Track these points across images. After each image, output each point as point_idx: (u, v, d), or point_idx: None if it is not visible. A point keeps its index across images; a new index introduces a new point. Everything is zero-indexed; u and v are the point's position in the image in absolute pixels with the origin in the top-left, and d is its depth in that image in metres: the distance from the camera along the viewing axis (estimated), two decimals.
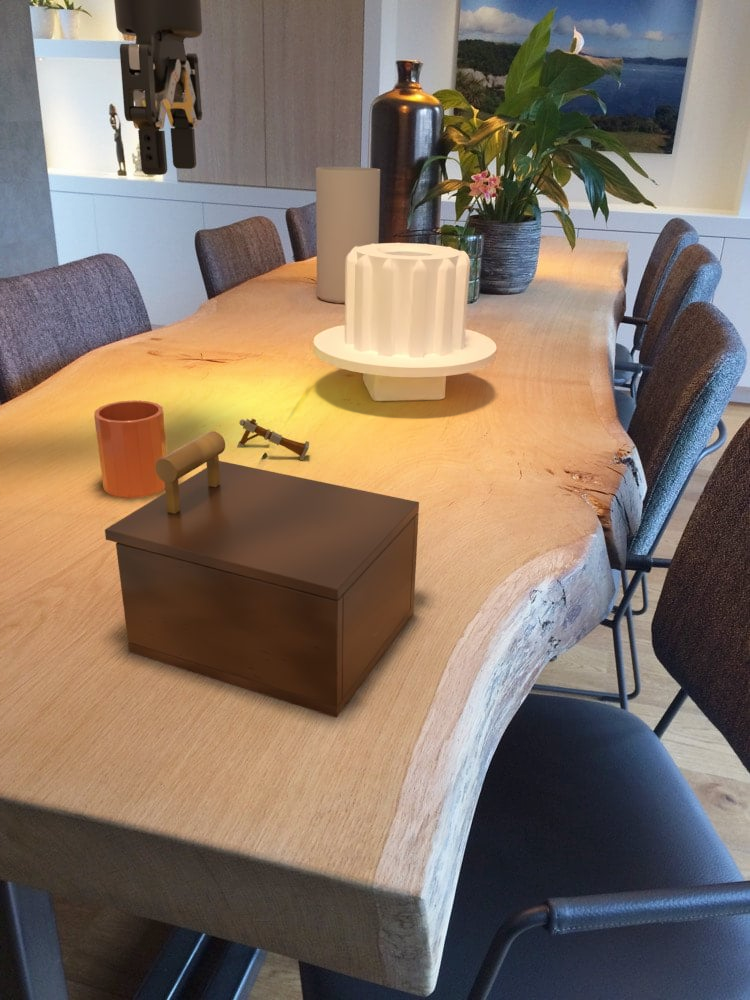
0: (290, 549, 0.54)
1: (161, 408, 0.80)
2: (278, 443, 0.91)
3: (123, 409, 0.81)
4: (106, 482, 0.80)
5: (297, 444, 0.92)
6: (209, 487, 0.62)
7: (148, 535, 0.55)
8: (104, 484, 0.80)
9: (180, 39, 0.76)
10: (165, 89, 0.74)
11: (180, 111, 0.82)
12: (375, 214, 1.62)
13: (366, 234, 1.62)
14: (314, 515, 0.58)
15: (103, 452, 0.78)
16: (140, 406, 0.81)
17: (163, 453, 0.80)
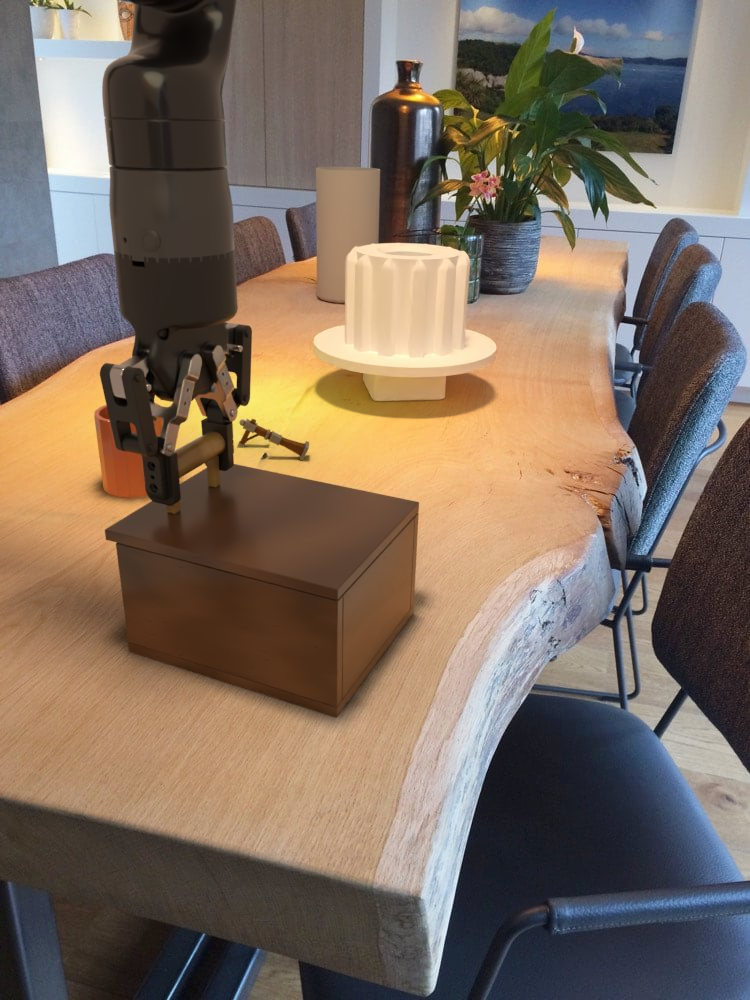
0: (290, 549, 0.54)
1: None
2: (278, 443, 0.91)
3: None
4: (106, 482, 0.80)
5: (297, 444, 0.92)
6: (209, 487, 0.62)
7: (148, 535, 0.55)
8: (104, 484, 0.80)
9: None
10: (174, 403, 0.54)
11: None
12: (375, 214, 1.62)
13: (366, 234, 1.62)
14: (314, 515, 0.58)
15: (103, 452, 0.78)
16: None
17: None
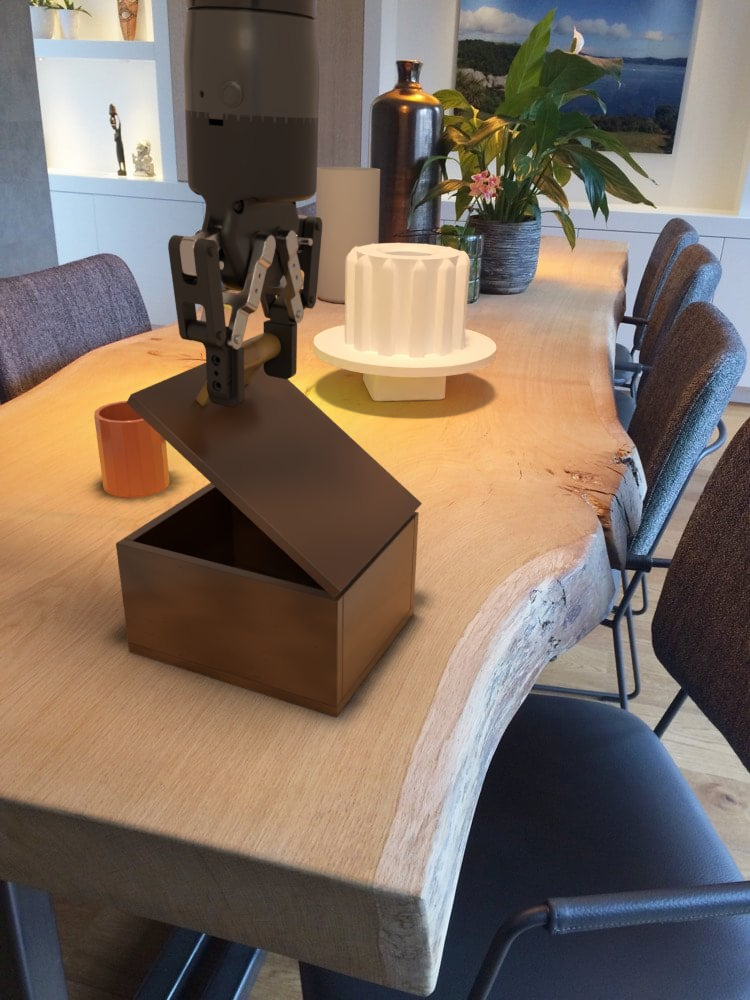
0: (305, 514, 0.52)
1: None
2: None
3: (123, 409, 0.81)
4: (106, 482, 0.80)
5: None
6: None
7: (174, 426, 0.50)
8: (104, 484, 0.80)
9: None
10: (245, 289, 0.48)
11: (282, 297, 0.56)
12: (375, 214, 1.62)
13: (366, 234, 1.62)
14: (331, 475, 0.56)
15: (103, 452, 0.78)
16: None
17: (163, 453, 0.80)
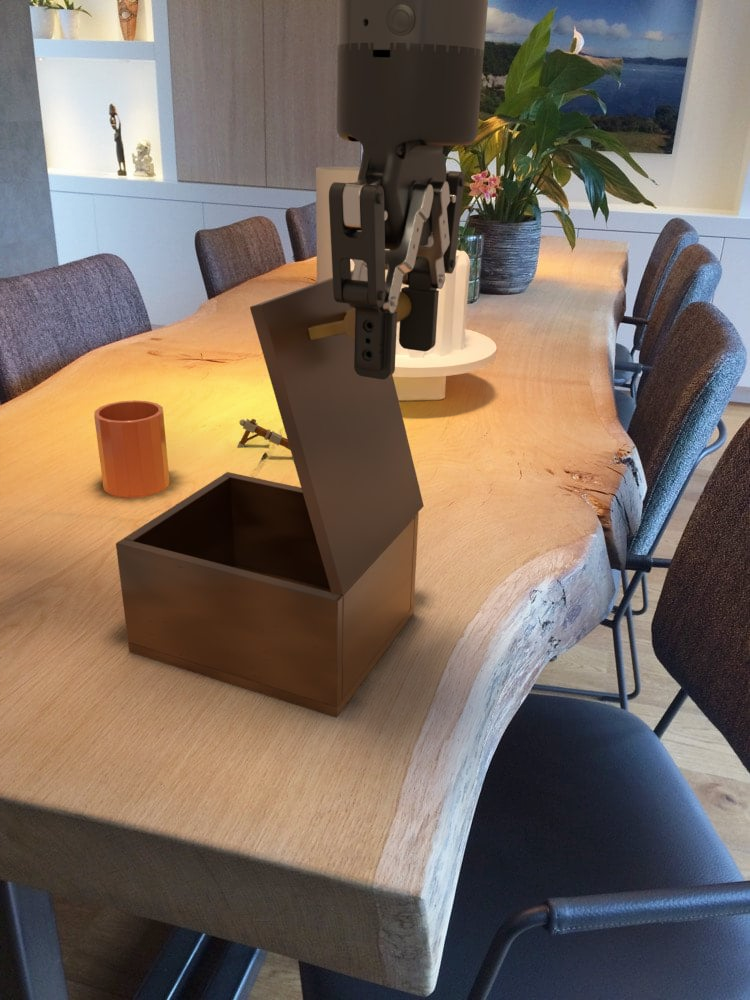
0: (345, 499, 0.50)
1: (161, 408, 0.80)
2: (278, 443, 0.91)
3: (123, 409, 0.81)
4: (106, 482, 0.80)
5: None
6: (344, 316, 0.52)
7: (283, 359, 0.45)
8: (104, 484, 0.80)
9: (439, 146, 0.45)
10: (403, 245, 0.43)
11: (421, 261, 0.51)
12: None
13: None
14: (375, 457, 0.54)
15: (103, 452, 0.78)
16: (140, 406, 0.81)
17: (163, 453, 0.80)
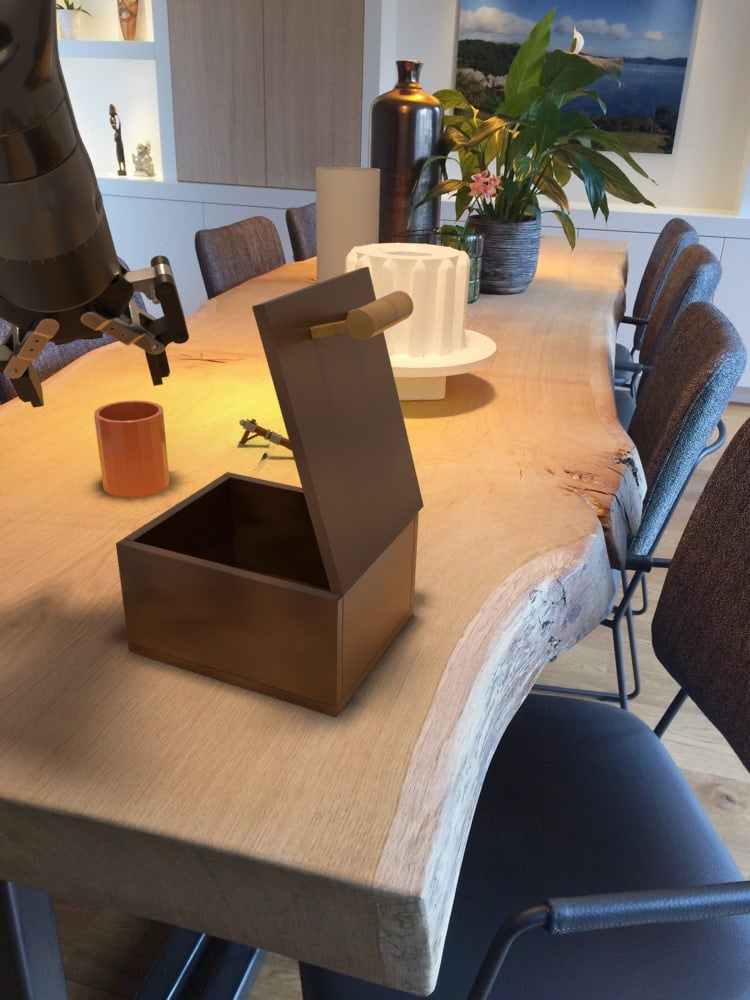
0: (346, 499, 0.50)
1: (161, 408, 0.80)
2: (278, 443, 0.91)
3: (123, 409, 0.81)
4: (106, 482, 0.80)
5: None
6: (346, 316, 0.52)
7: (285, 359, 0.45)
8: (104, 484, 0.80)
9: None
10: (20, 345, 0.54)
11: (157, 322, 0.58)
12: (375, 214, 1.62)
13: (366, 234, 1.62)
14: (376, 456, 0.54)
15: (103, 452, 0.78)
16: (140, 406, 0.81)
17: (163, 453, 0.80)
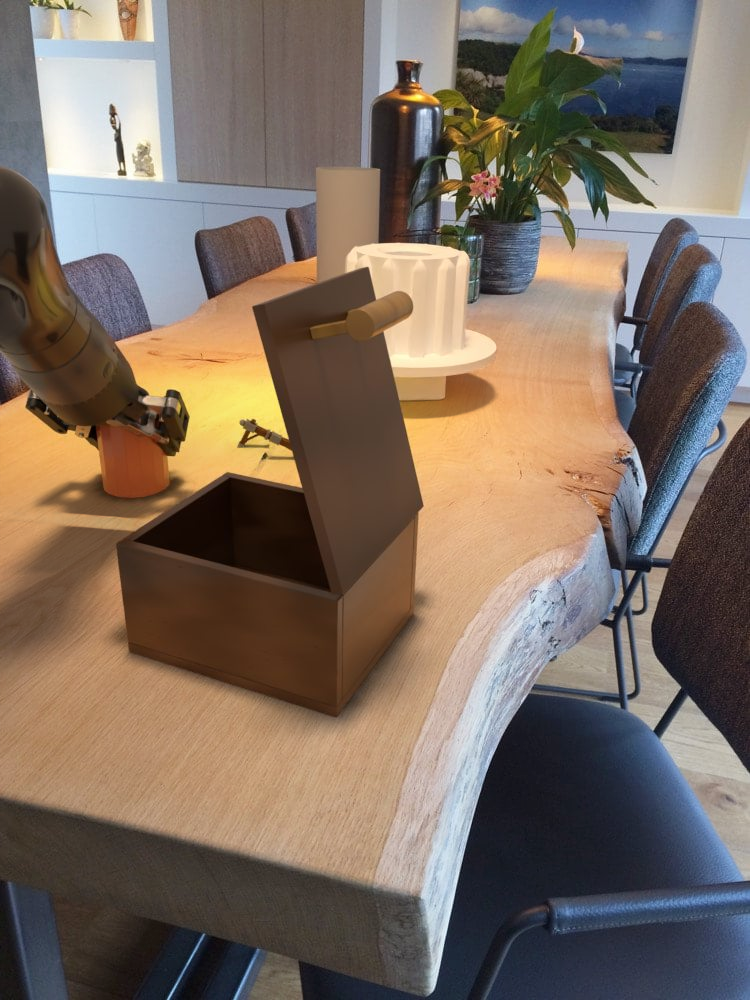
0: (346, 499, 0.50)
1: None
2: (278, 443, 0.91)
3: None
4: (106, 482, 0.80)
5: None
6: (346, 316, 0.52)
7: (285, 359, 0.45)
8: (104, 484, 0.80)
9: None
10: None
11: None
12: (375, 214, 1.62)
13: (366, 234, 1.62)
14: (376, 456, 0.54)
15: (103, 452, 0.78)
16: None
17: (163, 453, 0.80)
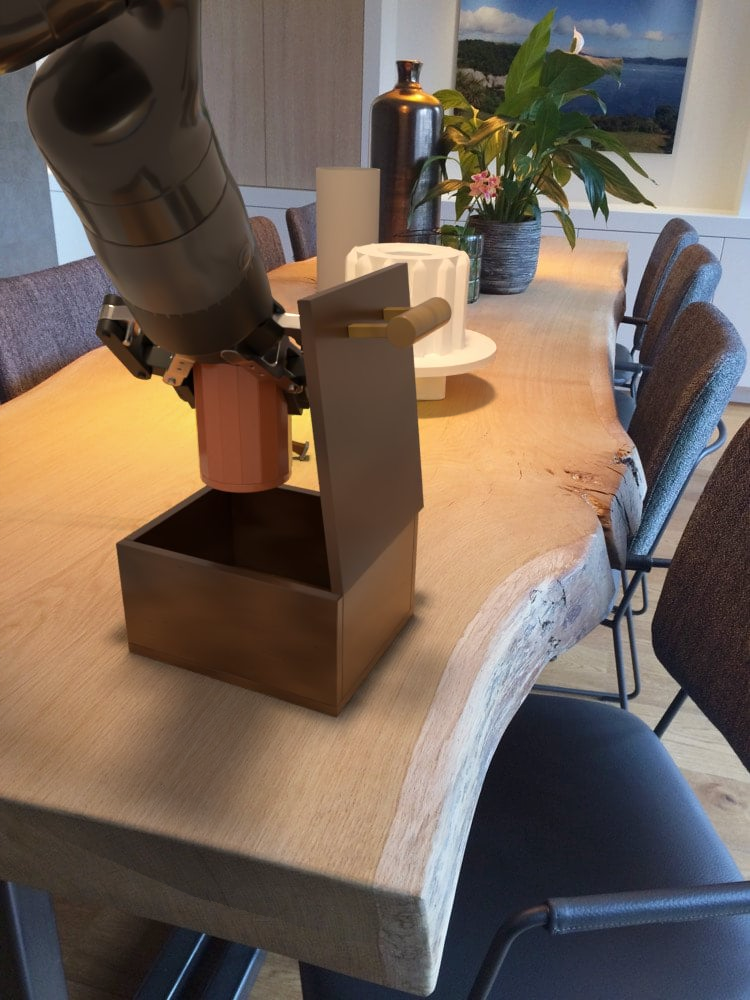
0: (357, 500, 0.50)
1: None
2: None
3: None
4: (205, 451, 0.54)
5: (298, 444, 0.92)
6: (381, 314, 0.51)
7: (322, 357, 0.44)
8: (202, 455, 0.55)
9: None
10: (170, 362, 0.50)
11: (301, 360, 0.52)
12: (375, 214, 1.62)
13: (366, 234, 1.62)
14: (389, 457, 0.54)
15: (204, 406, 0.53)
16: None
17: (288, 410, 0.55)
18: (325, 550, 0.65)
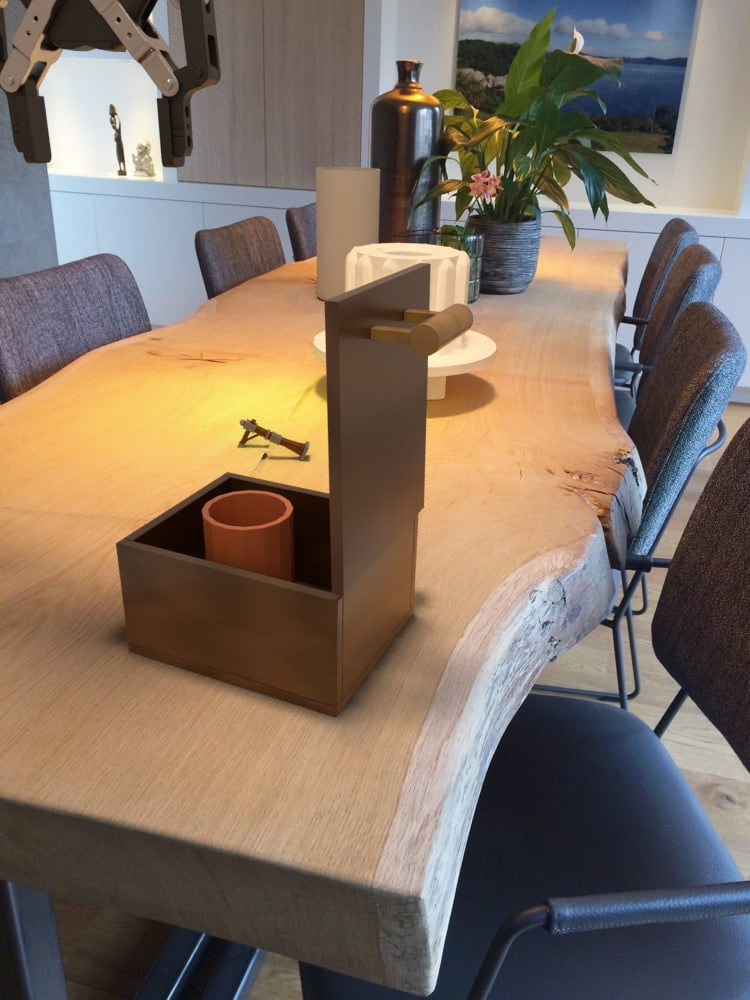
0: (364, 501, 0.50)
1: (289, 504, 0.59)
2: (278, 443, 0.91)
3: (235, 503, 0.61)
4: None
5: (298, 444, 0.92)
6: (402, 315, 0.50)
7: (344, 360, 0.44)
8: None
9: None
10: None
11: None
12: (375, 214, 1.62)
13: (366, 234, 1.62)
14: (396, 459, 0.54)
15: None
16: (257, 498, 0.61)
17: (291, 563, 0.60)
18: (325, 550, 0.65)
